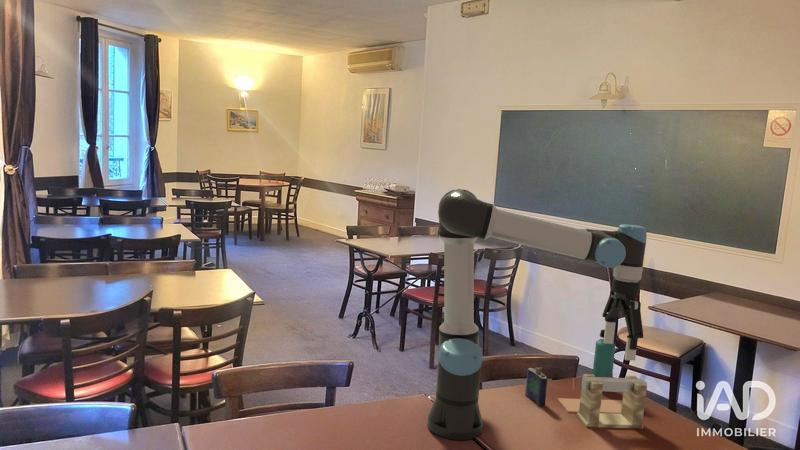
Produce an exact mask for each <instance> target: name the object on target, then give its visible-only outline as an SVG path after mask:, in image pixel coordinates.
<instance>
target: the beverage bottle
mask: <svg viewBox="0 0 800 450" xmlns="http://www.w3.org/2000/svg"><path fill="white" fill-rule="evenodd" d="M599 332H600V333H599V337H600V339H598V340H596V342H595V347H594V348H595V349H594V355H593V356H594V357H593V361H592V364H593V366H592V367H593V368H592V372H591V374H593V375H594V376H595V377H607V378H614V377H613V376H614V375H613V374H614V364H615V360H614V359H615V351H616V344H615V342H613V344H605V343H603V342H604V333H605V329H601V330H600V331H599Z"/></svg>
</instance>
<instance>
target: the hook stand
mask: <svg viewBox="0 0 800 450" xmlns="http://www.w3.org/2000/svg"><path fill="white" fill-rule="evenodd" d="M583 377H595V376H594V375H593V374H592V373H591V374H589V373H588V374H587V373H583V374H582V378H583ZM624 378H636V379H639V378H638V377H637V375H636V376H635V375H625V377H624ZM602 390H603V383H602V382H591V385H590V391H585V390H584V389H583V388H582V387H581V392H580V398H579V399H580V407H579V413H576V416H577V417H578V419H579V420H580V421H581V423H582V424H583V425H584V426H585V427H586V428H605V429H606V428H608V429H609V428H610V429H644V424H643V420H644V413H645V407H646V406H645V404H646V398H647V390H648V384H647V385H646V384H645V383H634V391H633V392H622V393H623V394H622V399H621V400H622V408H621V414H610V413H600V407H601V400H602V398H603V391H602Z"/></svg>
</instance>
